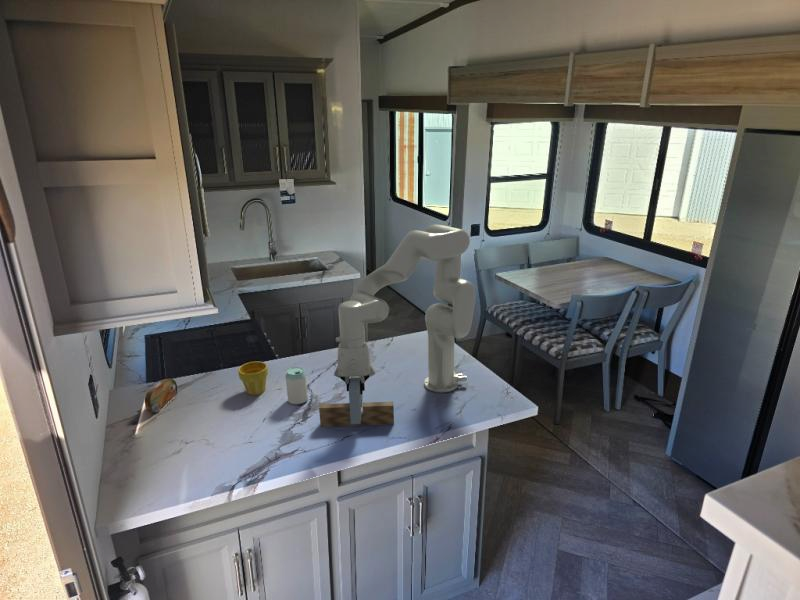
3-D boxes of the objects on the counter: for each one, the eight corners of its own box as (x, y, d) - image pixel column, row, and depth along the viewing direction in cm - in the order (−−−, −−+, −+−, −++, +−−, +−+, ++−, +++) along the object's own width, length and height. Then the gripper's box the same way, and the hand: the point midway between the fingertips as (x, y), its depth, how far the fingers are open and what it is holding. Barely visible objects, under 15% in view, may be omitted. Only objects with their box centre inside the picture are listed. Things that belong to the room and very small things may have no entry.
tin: (153, 417, 179) (149, 395, 176) (145, 416, 180) (140, 394, 177) (179, 395, 193) (175, 374, 190) (172, 394, 193) (168, 374, 191)
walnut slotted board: (393, 420, 174) (393, 401, 171) (394, 424, 171) (393, 405, 169) (321, 422, 173) (319, 404, 171) (320, 426, 171) (319, 408, 168)
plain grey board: (360, 423, 163) (358, 389, 159) (350, 424, 163) (348, 390, 159) (362, 397, 178) (360, 365, 174) (353, 397, 178) (351, 366, 174)
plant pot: (236, 396, 191) (232, 372, 187) (250, 383, 200) (247, 359, 197) (261, 399, 188) (258, 375, 185) (274, 385, 198) (272, 362, 194)
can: (311, 396, 189) (308, 367, 185) (303, 406, 183) (299, 376, 179) (293, 394, 191) (290, 365, 187) (284, 404, 185) (281, 374, 181)
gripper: (325, 346, 159) (329, 399, 165) (378, 344, 159) (381, 397, 165) (327, 336, 166) (331, 387, 172) (379, 334, 166) (381, 386, 172)
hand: (355, 392), depth 168 cm, fingers closed on plain grey board, 3 cm apart
